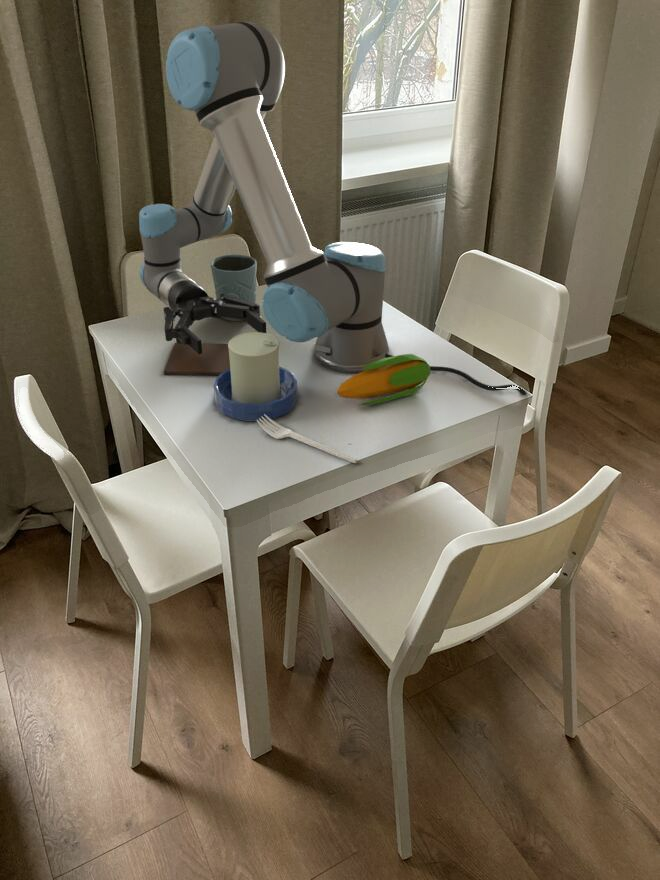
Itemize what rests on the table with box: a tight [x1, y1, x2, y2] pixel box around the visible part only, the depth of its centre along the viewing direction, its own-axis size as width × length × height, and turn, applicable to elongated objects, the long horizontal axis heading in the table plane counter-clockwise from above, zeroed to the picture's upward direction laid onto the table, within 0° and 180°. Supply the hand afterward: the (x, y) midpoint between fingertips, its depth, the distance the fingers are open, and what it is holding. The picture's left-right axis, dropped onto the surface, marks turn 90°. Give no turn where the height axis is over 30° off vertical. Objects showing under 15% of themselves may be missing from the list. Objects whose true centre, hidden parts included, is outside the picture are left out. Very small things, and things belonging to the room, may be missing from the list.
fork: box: [256, 414, 358, 464], centre depth 128 cm, size 3×20×2 cm, turn 56°
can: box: [227, 331, 281, 404], centre depth 136 cm, size 9×9×12 cm
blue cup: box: [210, 253, 258, 322], centre depth 167 cm, size 10×10×12 cm
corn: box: [336, 353, 431, 407], centre depth 139 cm, size 7×8×20 cm
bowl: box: [213, 365, 298, 422], centre depth 139 cm, size 15×15×4 cm
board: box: [163, 342, 230, 377], centre depth 151 cm, size 18×12×1 cm, turn 89°
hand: (233, 338), depth 139 cm, fingers open, 13 cm apart
